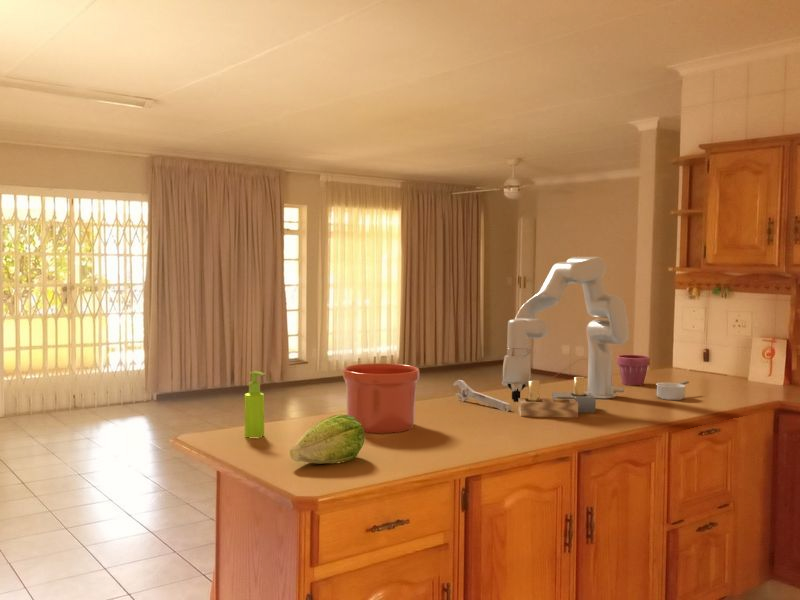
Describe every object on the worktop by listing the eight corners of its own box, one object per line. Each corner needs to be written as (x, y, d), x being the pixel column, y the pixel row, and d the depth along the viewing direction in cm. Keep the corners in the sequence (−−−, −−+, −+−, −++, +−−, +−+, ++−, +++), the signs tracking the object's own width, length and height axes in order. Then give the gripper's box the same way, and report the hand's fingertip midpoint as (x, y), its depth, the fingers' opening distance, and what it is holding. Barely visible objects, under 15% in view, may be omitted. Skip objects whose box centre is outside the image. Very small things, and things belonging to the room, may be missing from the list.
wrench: (507, 419, 260) (451, 398, 282) (510, 418, 261) (455, 397, 283) (509, 398, 258) (453, 378, 281) (512, 398, 260) (457, 378, 282)
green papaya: (272, 441, 190) (293, 421, 180) (337, 420, 204) (360, 401, 195) (290, 486, 186) (313, 469, 176) (356, 461, 200) (380, 444, 191)
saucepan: (700, 396, 294) (701, 383, 294) (677, 402, 281) (677, 388, 280) (674, 392, 302) (674, 379, 302) (650, 398, 289) (650, 384, 289)
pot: (332, 421, 240) (333, 365, 239) (400, 415, 250) (401, 361, 249) (357, 438, 217) (358, 376, 217) (431, 431, 227) (432, 371, 226)
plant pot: (611, 381, 329) (612, 354, 328) (640, 381, 331) (641, 354, 330) (624, 387, 315) (625, 358, 314) (654, 386, 316) (655, 358, 316)
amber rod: (538, 413, 257) (538, 380, 256) (539, 415, 253) (540, 382, 252) (527, 412, 257) (527, 380, 256) (528, 415, 253) (529, 381, 252)
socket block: (589, 407, 269) (589, 392, 268) (595, 412, 259) (595, 397, 258) (552, 406, 269) (552, 392, 269) (556, 411, 259) (556, 396, 259)
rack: (573, 412, 258) (573, 399, 258) (577, 417, 250) (578, 403, 250) (518, 411, 259) (518, 398, 259) (520, 416, 251) (520, 402, 251)
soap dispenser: (257, 440, 214) (257, 374, 213) (240, 437, 217) (240, 372, 216) (270, 436, 219) (270, 371, 218) (254, 433, 222) (254, 369, 221)
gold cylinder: (583, 408, 266) (583, 376, 265) (585, 410, 262) (586, 378, 261) (572, 408, 266) (573, 376, 265) (574, 410, 262) (575, 378, 261)
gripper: (536, 351, 267) (534, 400, 268) (496, 350, 268) (494, 399, 269) (538, 354, 260) (537, 404, 261) (497, 353, 261) (496, 402, 261)
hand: (515, 401), depth 265 cm, fingers closed
